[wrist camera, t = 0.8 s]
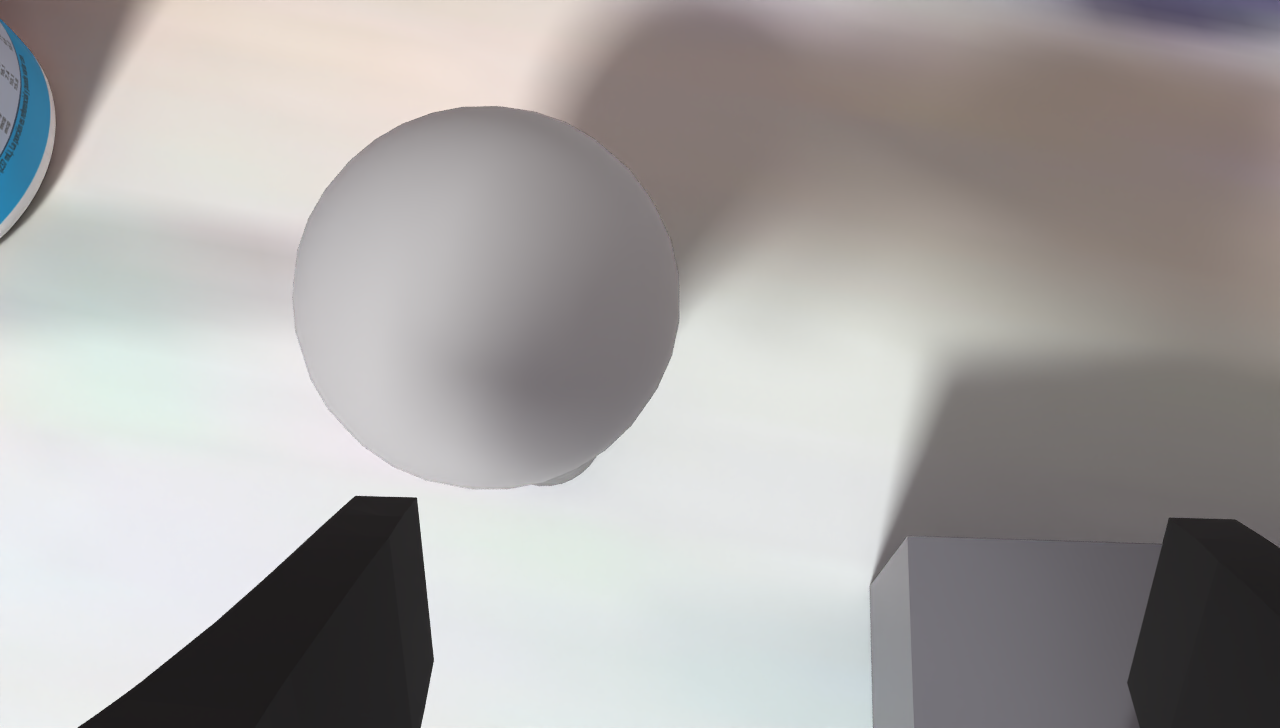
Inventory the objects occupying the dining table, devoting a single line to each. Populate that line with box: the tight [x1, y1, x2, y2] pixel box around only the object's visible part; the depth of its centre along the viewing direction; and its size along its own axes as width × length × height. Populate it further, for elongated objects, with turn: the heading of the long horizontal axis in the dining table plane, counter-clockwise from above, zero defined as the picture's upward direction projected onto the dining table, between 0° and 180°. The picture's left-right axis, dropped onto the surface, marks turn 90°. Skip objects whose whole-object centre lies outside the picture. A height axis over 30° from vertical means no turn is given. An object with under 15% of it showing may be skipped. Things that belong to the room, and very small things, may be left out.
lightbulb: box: [292, 106, 679, 489], centre depth 21 cm, size 6×6×11 cm
